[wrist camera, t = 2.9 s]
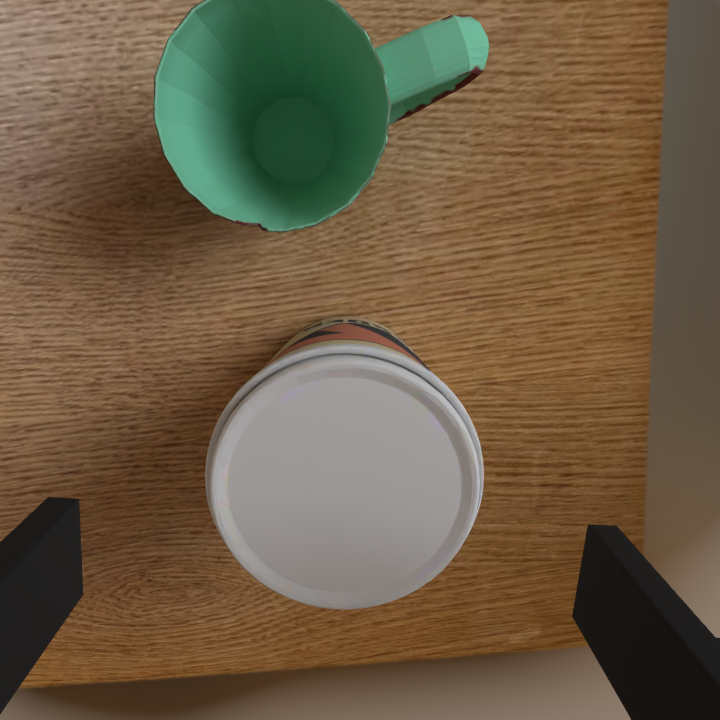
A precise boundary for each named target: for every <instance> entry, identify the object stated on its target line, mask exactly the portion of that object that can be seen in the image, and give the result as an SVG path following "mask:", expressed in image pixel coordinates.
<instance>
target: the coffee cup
mask: <svg viewBox="0 0 720 720" xmlns="http://www.w3.org/2000/svg"><path fill="white" fill-rule="evenodd" d="M483 483H484V467H483V457H482V451H481V446H480V443H479V439H478V436H477V432H476V430H475V428H474V425H473V423H472V421H471V419H470V417H469V415H468V413H467V412H466V410H465V408H464V406H463V405H462V404H461V402H460V401H459V400H458V398H457V397H456V395H455V394H454V393H453V392H452V391H451V390H450V389H449V388H448V387H447V386H446V384H444V383H443V382H442V381H441V380H440V379H439V378H438V377H436V376H435V375H434V374H433V373H432V372H431V371H430V370H429V369H428V368H427V366H426V365H425V364H424V363H423V362H422V361H421V360H420V359H419V358H418V356H417V355H416V354H415V353H414V352H413V351H412V350H411V349H410V348H409V346H408V345H407V344H406V343H405V342H404V341H403V340H402V339H401V338H399V337H398V336H397V335H396V334H395V333H393V332H392V331H391V330H389V329H388V328H386V327H384V326H383V325H381V324H378V323H376V322H374V321H371V320H368V319H363V318H359V317H349V316H343V317H333V318H328V319H324V320H321V321H318V322H316V323H313V324H312V325H310V326H308V327H306V328H304V329H303V330H302V331H300V332H299V333H297V334H296V335H295V336H294V337H293V338H292V339H290V340H289V341H288V342H287V343H286V344H285V345H284V346H283V347H282V348H281V349H280V351H279V352H278V353H277V354H276V355H275V356H274V357H273V358H272V359H271V360H270V361H269V362H268V363H267V364H266V365H265V366H264V367H263V368H262V370H261V371H259V372H258V373H257V374H256V375H254V376H253V377H252V378H251V379H250V380H248V381H247V382H246V383H245V384H244V385H243V386H242V387H241V388H240V389H239V390H238V391H237V392H236V394H235V395H234V396H233V397H232V399H231V400H230V401H229V403H228V404H227V406H226V407H225V409H224V411H223V412H222V414H221V416H220V417H219V420H218V422H217V424H216V426H215V428H214V431H213V434H212V437H211V440H210V443H209V447H208V453H207V458H206V467H205V486H206V494H207V500H208V505H209V508H210V512H211V515H212V518H213V520H214V523H215V525H216V528H217V530H218V532H219V533H220V535H221V537H222V539H223V541H224V542H225V544H226V546H227V548H228V549H229V550H230V552H231V553H232V555H233V556H234V557H235V559H236V560H237V561H238V562H239V563H240V564H241V566H242V567H243V568H244V569H245V570H246V571H247V572H248V573H249V574H251V575H252V576H253V577H254V578H255V579H256V580H258V581H259V582H260V583H262V584H263V585H265V586H266V587H268V588H269V589H271V590H273V591H274V592H276V593H278V594H280V595H282V596H285V597H287V598H289V599H292V600H295V601H297V602H300V603H303V604H307V605H312V606H316V607H322V608H328V609H360V608H367V607H373V606H377V605H381V604H385V603H388V602H391V601H394V600H397V599H399V598H401V597H404V596H406V595H408V594H410V593H412V592H414V591H415V590H417V589H419V588H420V587H422V586H424V585H425V584H426V583H428V582H429V581H430V580H432V579H433V578H434V577H435V576H436V575H438V574H439V573H440V572H441V571H442V570H443V569H444V568H445V567H446V566H447V565H448V564H449V562H450V561H451V560H452V559H453V557H454V556H455V555H456V554H457V552H458V551H459V550H460V548H461V546H462V544H463V543H464V541H465V539H466V538H467V536H468V534H469V532H470V531H471V528H472V526H473V524H474V522H475V519H476V517H477V514H478V510H479V507H480V504H481V498H482V493H483Z"/></svg>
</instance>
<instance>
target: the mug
mask: <svg viewBox="0 0 720 720" xmlns="http://www.w3.org/2000/svg"><path fill="white" fill-rule="evenodd" d="M488 50H489V42H488V37H487V35H486V33H485V31H484V29H483V28H482V26H481V24H480V23H479V22H478V21H477V20H475V19H473V18H472V17H470V16H468V15H451V16H448V17H446V18H443V19H441V20H438V21H436V22H433V23H431V24H429V25H426V26H424V27H421V28H419V29H416V30H414V31H412V32H410V33H408V34H406V35H403V36H401V37H399V38H397V39H395V40H392V41H390V42H388V43H386V44H384V45H382V46H379V47H377V48H374V46H373V44H372V42H371V40H370V38H369V36H368V35H367V33H366V31H365V29H364V28H363V27H362V26H361V25H360V24H359V23H358V22H357V21H356V20H355V19H354V18H353V17H352V16H351V15H350V14H349V13H348V12H347V11H346V10H345V9H344V8H343V7H342V6H341V5H340V4H339V3H338V2H337V1H335V0H204V1H202V2H200V3H199V4H197V5H196V6H194V7H193V8H191V10H190V11H189V12H188V14H187V15H186V16H185V17H184V19H183V20H182V21H181V23H180V24H179V25H178V27H177V28H176V29H175V30H174V32H173V33H172V34H171V36H170V37H169V38H168V40H167V43H166V45H165V48H164V51H163V54H162V57H161V60H160V63H159V66H158V68H157V71H156V74H155V78H154V111H153V118H154V121H155V125H156V129H157V133H158V136H159V140H160V144H161V148H162V151H163V155H164V157H165V158H166V160H167V162H168V163H169V165H170V167H171V168H172V170H173V171H174V173H175V175H176V176H177V178H178V180H179V181H180V183H181V184H182V186H183V188H184V189H185V190H186V191H187V192H188V193H190V194H191V195H192V196H193V197H194V198H195V199H196V200H197V201H199V202H200V203H201V204H202V205H203V206H204V207H205V208H206V209H208V210H209V211H210V212H211V213H212V214H214V215H217V216H219V217H222V218H224V219H226V220H229V221H231V222H234V223H237V224H240V225H243V226H248V225H249V226H259V227H260V228H261V229H262V230H263V231H269V232H278V233H284V232H288V231H293V230H298V229H302V228H307V227H312V226H317V225H319V224H320V223H322V222H324V221H325V220H327V219H329V218H330V217H332V216H334V215H335V214H337V213H339V212H341V211H342V210H344V209H346V208H347V207H348V206H349V205H350V204H351V203H352V202H353V200H354V199H355V198H356V197H357V196H358V195H359V194H360V192H361V191H362V190H363V189H364V188H365V187H366V186H367V184H368V183H369V182H370V181H371V179H372V177H373V175H374V173H375V170H376V168H377V166H378V163H379V161H380V159H381V157H382V154H383V152H384V150H385V147H386V145H387V137H388V128H389V125H390V124H392V123H395V122H397V121H399V120H401V119H403V118H406V117H408V116H410V115H412V114H414V113H415V112H417V111H419V110H421V109H423V108H425V107H427V106H429V105H430V104H432V103H434V102H436V101H438V100H440V99H442V98H444V97H446V96H447V95H449V94H451V93H453V92H455V91H457V90H459V89H461V88H462V87H464V86H466V85H467V84H468V83H470V82H471V81H472V80H473V79H475V78H476V77H477V76H479V75H480V74H481V73H482V71H483V70H484V67H485V64H486V60H487V56H488Z"/></svg>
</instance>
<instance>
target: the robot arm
mask: <svg viewBox="0 0 720 720" xmlns="http://www.w3.org/2000/svg"><path fill="white" fill-rule="evenodd" d="M82 596H83V581H82V557H81V533H80V510H79V499H75V498H55V497H48V498H47V499H46V500H45V501H44V502H43V503H41V504H40V505H39V506H38V507H37V508H36V509H35V510H34V511H33V512H32V513H31V514H30V515H29V516H28V517H27V518H26V519H24V520H23V521H22V522H21V523H20V524H19V525H18V526H17V527H16V528H15V529H14V530H13V531H12V532H11V533H10V534H9V535H7V536H6V537H5V538H4V539H3V540H2V541H1V542H0V714H1V712H2V711H3V709H4V708H5V707H6V705H7V703H8V702H9V701H10V699H11V698H12V696H13V695H14V694H15V692H16V691H17V689H18V688H19V686H20V685H21V683H22V682H23V681H24V679H25V678H26V676H27V675H28V673H29V672H30V670H31V669H32V668H33V666H34V665H35V663H36V662H37V660H38V659H39V658H40V656H41V655H42V653H43V652H44V650H45V649H46V647H47V646H48V645H49V643H50V642H51V640H52V639H53V637H54V636H55V634H56V633H57V632H58V630H59V629H60V627H61V626H62V624H63V623H64V621H65V620H66V619H67V617H68V616H69V614H70V613H71V611H72V610H73V608H74V607H75V606H76V604H77V603H78V601H79V600H80V598H81V597H82ZM572 617H573V619H574V620H575V622H576V624H577V626H578V627H579V629H580V631H581V633H582V634H583V636H584V638H585V639H586V641H587V643H588V645H589V646H590V648H591V650H592V652H593V653H594V655H595V657H596V659H597V660H598V662H599V664H600V666H601V667H602V669H603V671H604V672H605V674H606V676H607V678H608V680H609V681H610V683H611V685H612V687H613V688H614V690H615V692H616V694H617V695H618V697H619V699H620V701H621V702H622V704H623V706H624V707H625V709H626V711H627V713H628V714H629V716H630V718H631V720H720V638H715V636H714V635H713V634H712V633H711V632H710V631H709V630H708V629H707V627H706V626H705V625H704V624H703V623H702V622H701V621H700V620H699V618H698V617H697V616H696V615H695V614H694V613H693V612H692V610H691V609H690V608H689V607H688V606H687V605H686V604H685V603H684V601H683V600H682V599H681V598H680V597H679V596H678V595H677V594H676V592H675V591H674V590H673V589H672V588H671V587H670V586H669V584H668V583H667V582H666V581H665V580H664V579H663V578H662V577H661V575H660V574H659V573H658V572H657V571H656V570H655V569H654V568H653V567H652V565H651V564H650V563H649V562H648V561H647V560H646V559H645V557H644V556H643V555H642V554H641V553H640V552H639V551H638V550H637V548H636V547H635V546H634V545H633V544H632V543H631V542H630V540H629V539H628V538H627V537H626V536H625V535H624V534H623V533H622V531H621V530H620V529H619V528H618V527H617V526H608V525H588V527H587V533H586V539H585V545H584V551H583V556H582V562H581V568H580V574H579V580H578V586H577V591H576V597H575V603H574V609H573V615H572Z"/></svg>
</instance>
